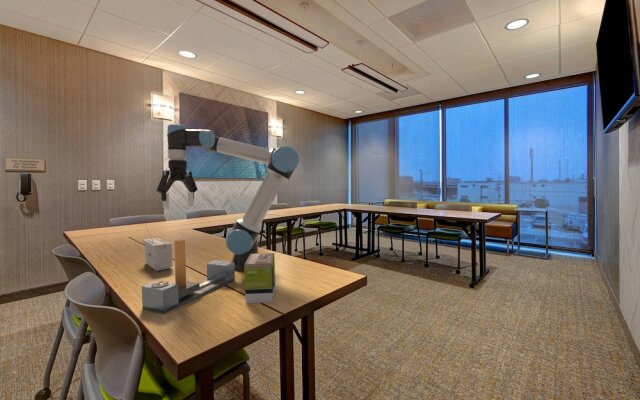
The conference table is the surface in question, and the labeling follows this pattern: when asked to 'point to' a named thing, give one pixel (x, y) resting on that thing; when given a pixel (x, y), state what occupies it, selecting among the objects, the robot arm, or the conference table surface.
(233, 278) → the rail
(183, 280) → the carriage
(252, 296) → the tea box
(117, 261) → the conference table surface
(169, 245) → the stereo radio cassette player
